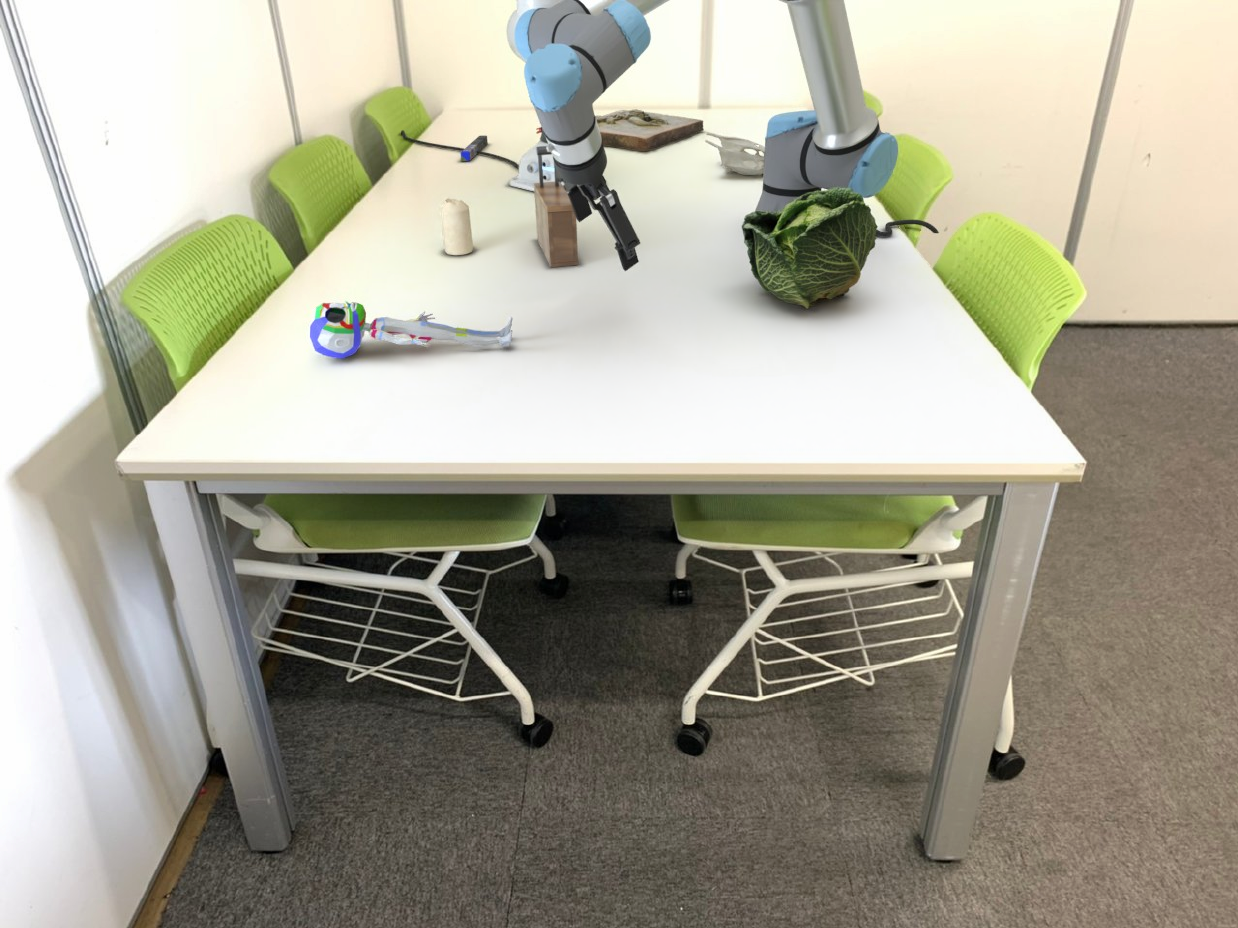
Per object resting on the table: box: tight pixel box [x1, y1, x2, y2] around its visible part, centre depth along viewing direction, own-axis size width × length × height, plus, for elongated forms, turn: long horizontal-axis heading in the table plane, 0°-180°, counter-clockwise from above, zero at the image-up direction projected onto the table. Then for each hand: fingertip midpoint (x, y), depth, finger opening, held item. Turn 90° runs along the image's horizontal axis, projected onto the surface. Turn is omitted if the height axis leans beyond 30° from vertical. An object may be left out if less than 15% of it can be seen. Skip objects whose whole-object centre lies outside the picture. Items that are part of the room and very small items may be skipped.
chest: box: [533, 190, 579, 268], centre depth 172 cm, size 16×5×10 cm, turn 13°
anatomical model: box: [705, 131, 765, 176], centre depth 220 cm, size 15×9×25 cm
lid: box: [534, 146, 573, 213], centre depth 167 cm, size 17×5×9 cm, turn 13°
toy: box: [307, 300, 513, 360], centre depth 136 cm, size 10×8×30 cm
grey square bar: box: [460, 135, 489, 162], centre depth 244 cm, size 2×2×20 cm
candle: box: [439, 198, 474, 256], centre depth 173 cm, size 6×6×10 cm
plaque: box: [595, 108, 705, 152], centre depth 257 cm, size 30×7×30 cm
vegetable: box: [741, 187, 878, 310], centre depth 148 cm, size 20×19×20 cm
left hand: (546, 91), depth 164 cm, fingers open, 8 cm apart
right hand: (607, 240), depth 148 cm, fingers open, 13 cm apart
